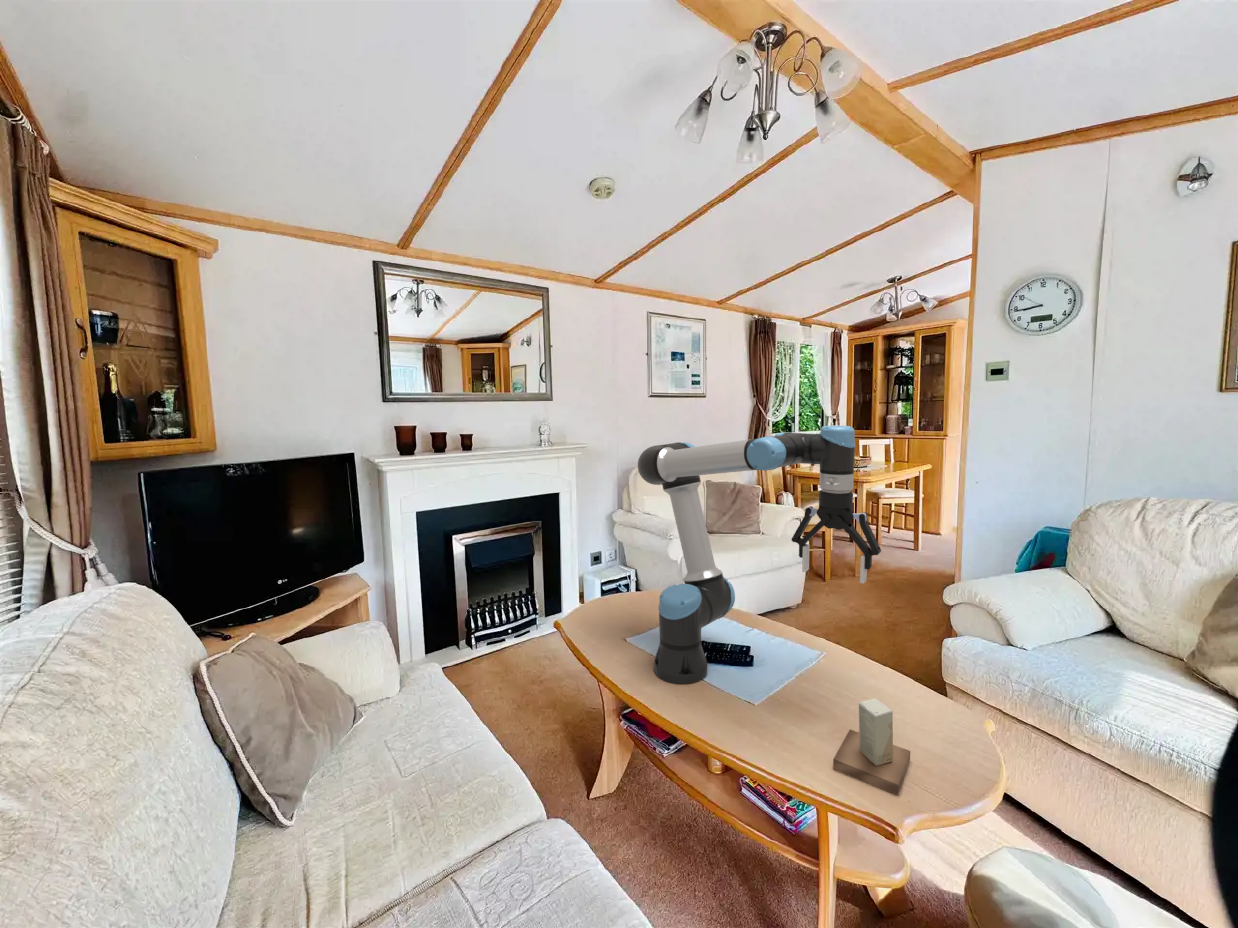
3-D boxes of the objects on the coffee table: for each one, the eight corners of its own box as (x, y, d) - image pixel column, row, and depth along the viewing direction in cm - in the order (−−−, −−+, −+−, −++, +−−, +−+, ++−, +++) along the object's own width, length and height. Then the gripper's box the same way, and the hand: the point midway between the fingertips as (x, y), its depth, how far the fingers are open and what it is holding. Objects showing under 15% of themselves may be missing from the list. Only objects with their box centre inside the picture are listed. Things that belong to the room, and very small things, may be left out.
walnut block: (833, 772, 107) (833, 758, 106) (849, 741, 116) (849, 729, 116) (897, 798, 99) (898, 784, 99) (909, 763, 109) (910, 750, 108)
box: (893, 761, 105) (894, 711, 103) (875, 766, 104) (876, 716, 102) (875, 744, 110) (875, 696, 108) (857, 749, 109) (857, 701, 107)
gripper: (779, 487, 129) (778, 570, 132) (889, 498, 113) (885, 591, 116) (790, 483, 135) (789, 562, 137) (897, 493, 119) (893, 582, 122)
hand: (833, 576), depth 127 cm, fingers open, 13 cm apart
